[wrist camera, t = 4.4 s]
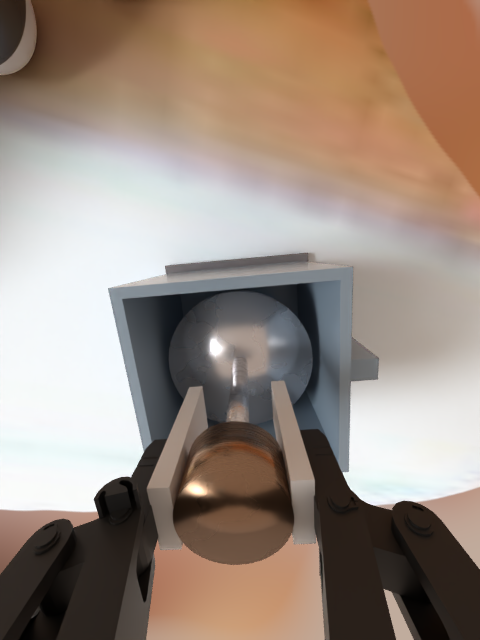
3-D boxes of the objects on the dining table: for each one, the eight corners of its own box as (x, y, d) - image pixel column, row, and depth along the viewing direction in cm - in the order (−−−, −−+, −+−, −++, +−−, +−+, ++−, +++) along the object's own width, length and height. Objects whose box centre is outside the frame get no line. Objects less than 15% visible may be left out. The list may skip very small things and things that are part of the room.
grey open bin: (186, 389, 33) (142, 492, 19) (167, 265, 29) (92, 276, 15) (321, 379, 32) (382, 479, 18) (320, 251, 28) (396, 248, 14)
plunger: (182, 423, 23) (101, 640, 10) (160, 296, 20) (8, 372, 7) (311, 415, 22) (401, 631, 9) (308, 284, 19) (432, 340, 7)
